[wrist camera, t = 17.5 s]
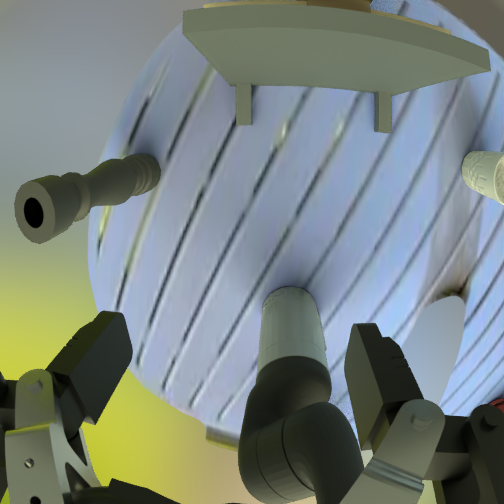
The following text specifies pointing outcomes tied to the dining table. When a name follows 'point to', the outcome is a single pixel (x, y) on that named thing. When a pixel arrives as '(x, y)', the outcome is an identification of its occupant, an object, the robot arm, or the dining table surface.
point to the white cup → (485, 173)
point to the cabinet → (342, 4)
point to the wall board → (326, 50)
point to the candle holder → (80, 194)
